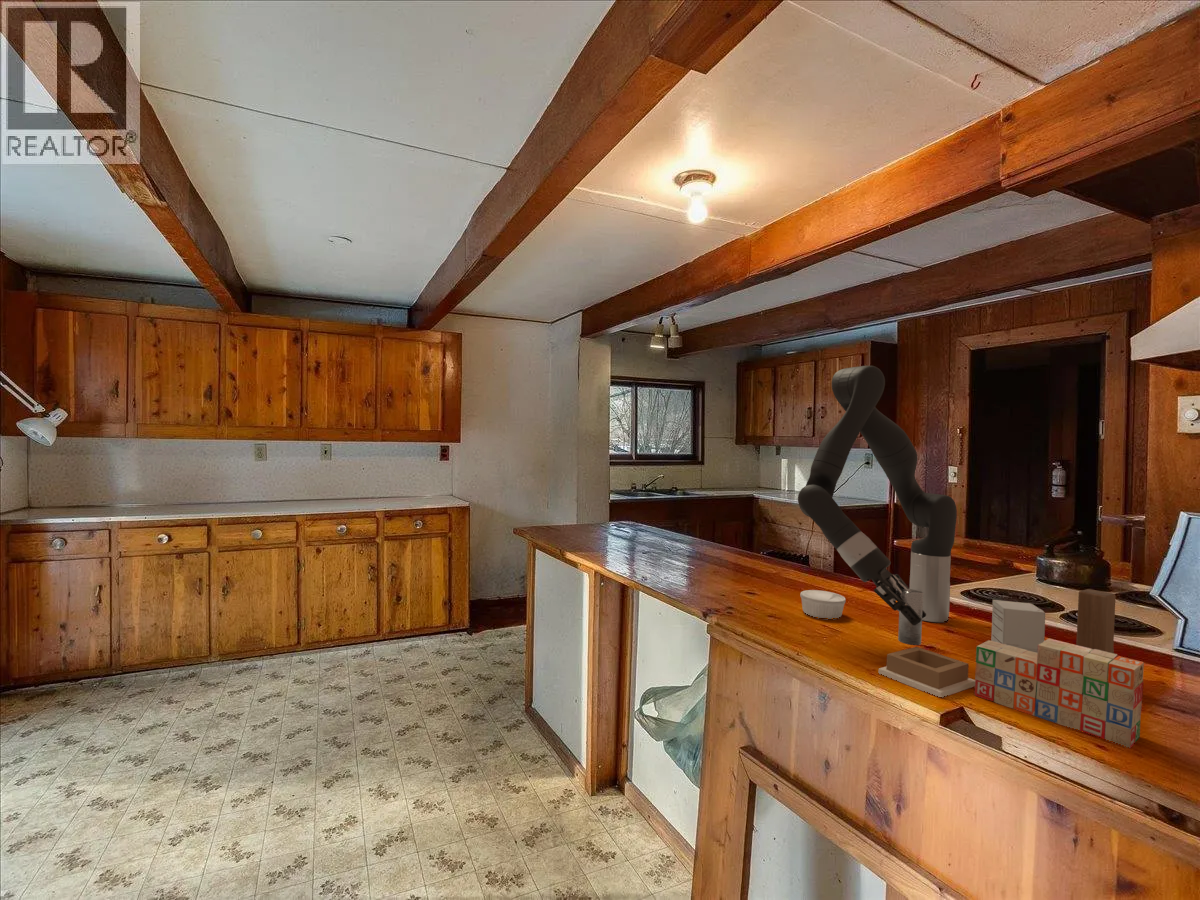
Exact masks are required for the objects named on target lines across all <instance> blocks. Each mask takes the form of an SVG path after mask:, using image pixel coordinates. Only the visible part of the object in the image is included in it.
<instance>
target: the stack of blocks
mask: <svg viewBox="0 0 1200 900" xmlns="http://www.w3.org/2000/svg"><path fill="white" fill-rule="evenodd" d="M975 650H976V651H975V663H976V664H975V673H974V674H975V675H974V678H975V679H974V680H975V686H974V696H975V697H978V698H981V699H985V700H988V701H990V702H994V703H996V704H997V705H1000V706H1001V705H1002V706H1004V707H1007V708H1010V709H1013V710H1015V711H1019V712H1022V713H1023V714H1024V713H1025V714H1028V715H1031V716H1033V717H1037V718H1040V719H1043V720H1046V721H1048V722H1052V723H1054V724H1058V725H1061V726H1064V727H1066V726H1067V728H1069V727H1070V729H1072V728H1074V729H1073V730H1075V729H1078V730H1080V731H1079V732H1081V731H1083V732H1082V733H1084V732H1086V733H1085V734H1087V733H1089V734H1088V735H1090V734H1092V735H1095V736H1098V737H1101V738H1104V739H1106V740H1105V741H1107V740H1109V741H1108V742H1110V741H1113V742H1115V743H1114V744H1116V743H1118V744H1117V745H1119V744H1121V745H1120V746H1122V745H1124V746H1123V747H1125V746H1126V747H1125V748H1128V747H1129V748H1128V749H1131V748H1132V747H1134V745H1135V744H1136V742H1137V741H1138V740H1139V739H1140V736H1141V718H1142V717H1141V715H1142V703H1143V691H1144V687H1143V686H1144V668H1145V664H1144V663H1145V662H1143V661H1140V660H1137V659H1133V658H1129V657H1125V656H1124V657H1123V656H1122V655H1121V656H1120V655H1118V654H1117V653H1114V654H1113V653H1109V652H1105V651H1101V650H1097V649H1091V648H1086V647H1082V646H1078V645H1076V644H1073V643H1069V642H1065V641H1061V640H1056V639H1053V638H1047V639H1046V640H1045V639H1044V642H1043V643H1041V644H1039V645H1038V653H1036V652H1032V651H1028V650H1025V649H1021V648H1017V647H1014V646H1010V645H1006V644H1002V643H998V642H994V641H991V640H989V639H988V640H986V641H985V642H982V643H981V644H979V645H976V649H975ZM1078 730H1077V731H1078ZM1092 735H1091V736H1092ZM1095 736H1094V737H1095ZM1098 737H1097V738H1098ZM1101 738H1100V739H1101ZM1104 739H1103V740H1104ZM1113 742H1112V743H1113ZM1134 743H1135V744H1134Z"/></svg>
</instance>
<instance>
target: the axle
mask: <svg viewBox="0 0 1200 900" xmlns="http://www.w3.org/2000/svg"><path fill="white" fill-rule="evenodd" d="M901 591H902V592H903V598H904V599H905V600H906V601H907V602H908V604H909V605H910V606H911V608H912V609H913V610H914V611H915V612H916V613H917V614H918V615H919V616H920V618H921V619H922V608H923V592H921V591H917V590H912V589H910V588H909V589H901ZM909 605H908V606H909ZM922 628H923V620H922V621H921V622H920V623H918V624H916V625H912V624H911V623H910V622H909V621H908V619H907V618H906V617H905V616H904V615H903V614H902V613H901V611H900V612H899V611H898V633H897V634H898V635H897V636H898V637H897V639H898V640H897V641H898V642H900V643H902V644H905V645H908V646H909V645H910V646H921V644H922V634H923V633H922V630H923V629H922Z"/></svg>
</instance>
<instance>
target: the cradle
mask: <svg viewBox="0 0 1200 900" xmlns="http://www.w3.org/2000/svg"><path fill="white" fill-rule="evenodd" d="M878 673H879V675H881V674H882V676H883V675H884V676H883V677H886V676H887V678H889V679H891V678H892V680H894V681H896V680H897V682H900V683H901V684H903V685H907V686H909V687H911V688H913V689H917V690H919V691H922V692H924V691H925V693H927V692H928V693H927V694H929V693H930V695H932V694H933V695H932V696H934V695H935V697H937V696H938V698H939V697H942V698H945V697H947V695H948V696H951V695H954V694H956V693H959V692H963V691H965V690H968V689H971V688H973V687H974V688H975V680H976V679H972V678H970V677H969V663H968V662H964V661H960V660H958V659H955V658H952V657H949V656H945V655H943V654H939V653H937V652H933V651H932V650H928V649H924V648H922V647H918V646H914V647H911V648H906V649H902V650H898V651H895V652H891V653H887V654H886V666H883V667H880V668H878ZM944 696H945V697H944Z"/></svg>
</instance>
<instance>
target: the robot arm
mask: <svg viewBox="0 0 1200 900" xmlns="http://www.w3.org/2000/svg"><path fill="white" fill-rule="evenodd" d="M885 386H886V378H885V376H884V373H883V371H882V370H881V369H880V368H878V367H877V366H874V365H862V366H861V365H860V366H852V367H845V368H842V369H839V370H838V371H836V372H835V373H834V374H833V376H832V378H831V390H832V392H833V396H834V398H835V399H836V401H837V402H838V404H839V405H840V407H842V409H843V411H845V412H844V414H843V415H842V417H841V418H840V419H839V420H838V422H837V423H836V424H835V425H834V426H833V427H832V428H831V429H830V430H829V431H828V433H827V434H826V435H825V436H824V438H823V439H822V440H821V442H820V444H819V446H818V449H817V451H816V453H815V455H814V458H813V460H812V463H811V467H810V471H809V472H810V473H809V477H808V479H807V481H806V484H805V486H804V487H802V488H801V489H800V491H799V492H798V494H797V503H798V507H799V509H800V511H801V512H802V513H803V514H804V515H805V516H806V517H809V518H810V519H811V520H812V521H813V522H814V523H815V524H816V526H818V527H819V528H820V530H821V532H822V534H823V535H824V537H825V538H826V539H827V541H829V543H830V544H831V545H832V546H833V547H834V548H835V550H836V551H837V552H838V554H839V555H840V557H841V558H842V559H843V561H844V562H845V563H846V564H847V565H848V566H849V567H850V569H851V570H852V571H853V572H854V573H855V574H856V575H857V577H858V578H860V580H861V581H862V582H863V583H867V582H869V581H871V580H872V582H873V584H874V585H875V587H874V589H873V591H874V593H875V594H876V595H877V596H878V597H880V599H882V601H884V602H885V604H887V605H888V606H889V607H890V608H891V609H892V610H893V611H897V612H898V613H899V612H900V611H901V613H902V614H903V615H904V616H905V617H906V618H907V619H908V621H909V622H910V623H911V624H912V625H916V624H918V623H920V622H921V621H922V622H924V621H925V622H931V623H945V622H944V621H947V620H948V621H949V618H950V601H951V600H950V598H951V582H950V581H951V580H950V579H951V557H952V550H953V547H954V543H955V536H956V528H957V527H956V525H957V518H958V517H957V516H958V511H957V505H956V502H955V500H954V499H953V497H951V496H949V495H946V494H938V493H929V492H925V491H924V490H923V489H922V488H921V487H920V485H919V483H918V481H917V479H916V476H915V475H916V470H917V469H916V468H917V464H918V453H917V450H916V448H915V446H914V445H913V443H912V441H911V439H910V437H909V436H908V434H907V433H906V431H904V429H903V428H901V426H899V425H898V424H897V423H895V422H894V421H893V420H891V419H890V418H888V417H887V416H886V415H884V413H882V412H881V411H879V409H878V408H877V404H878V402H879V401H880V399H881V397H882V396H883V393H884V390H885ZM859 434H861V436H862V437H863V438H864V440H865V442H866V443H867V445H868V447H869V449H870V450H871V452H872V454H873V456H874V458H875V459H876V461H877V462H878V464H879V466H880V467H881V469H882V470H883V473H884V474H885V475H886V477H887V479H888V482H889V483H890V485H891V486H892V488H893V490H894V492H895V494H896V496H897V498H898V499H897V500H898V501H899V503H900V505H901V507H902V510H903V512H904V515H906V518H907V519H908V521H909V522H910V523H911V524H913V525H915V526H918V527H921V528H922V527H923V528H927V529H928V532H927V535H926V536H925V537H923V538H921V539H915V540H913V541H912V542H911V544H910V545H911V547H910V572H909V574H910V575H909V586H908V585H907V584H906V583H905V581H904V580H903V579H902V577H900V575H899V574H898V573H896V574H893V573H891V572H890V571H889V570H888V569H887V568H888V567H890V565H891V563H892V562H891V560H890V559H889V558H888V556H887V555H885V554H884V552H883V551H882V550H880V548H879V547H878V546H877V545H876V544H875V543H874V542H873V541H872V539H871V538H870V537H869V536H867V535H866V533H863V532H862V530H861V529H860V528H859V527H858V526H857V525H856V524H855V523H854V522H853V521H852V519H850V518H849V517H848V515H846V514H845V513H844V511H843V510H842V509H841V508H840V506H839V504H838V503H837V502H836V500H835V499H834V498H833V497H834V493H835V491H836V487H837V483H838V481H839V479H840V477H841V475H842V473H843V470H844V468H845V465H846V462H847V460H848V459H849V458H848V457H849V455H850V453H851V450H852V448H853V445H854V444H855V442H856V440H857V438H858V436H859ZM901 589H912V590H917V591H921V592H923V608H922V619H921V618H920V616H919V615H918V614H917V613H916V612H915V611H914V610H913V609H912V608H911V606H910V605H909V604H908V602H907V601H906V600H905V599H904V598H903V592H902V591H901ZM908 605H909V606H908ZM948 617H949V618H948ZM948 621H947V622H948Z"/></svg>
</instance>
